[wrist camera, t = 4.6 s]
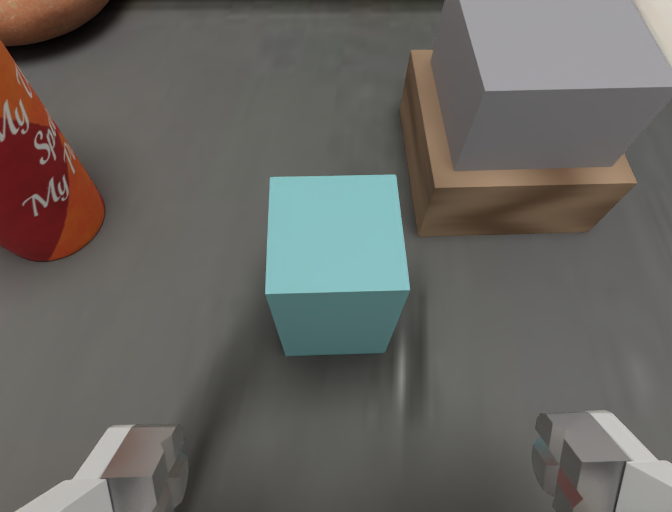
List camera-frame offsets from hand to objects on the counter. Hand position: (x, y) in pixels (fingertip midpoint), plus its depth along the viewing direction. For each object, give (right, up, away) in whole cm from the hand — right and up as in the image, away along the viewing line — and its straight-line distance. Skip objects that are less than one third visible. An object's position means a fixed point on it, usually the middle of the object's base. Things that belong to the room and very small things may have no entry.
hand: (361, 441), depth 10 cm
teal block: (-1, +2, +13) cm, 13 cm away
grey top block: (+9, +12, +14) cm, 20 cm away
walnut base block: (+9, +10, +18) cm, 22 cm away
